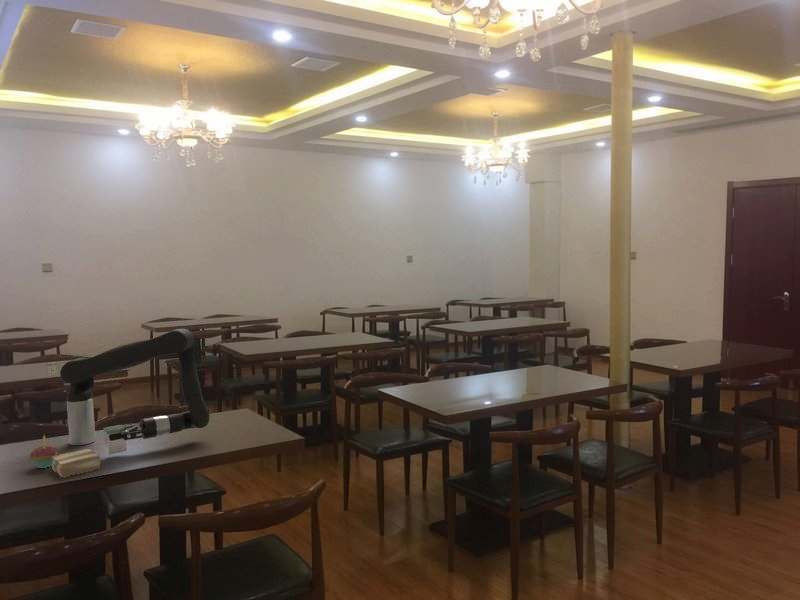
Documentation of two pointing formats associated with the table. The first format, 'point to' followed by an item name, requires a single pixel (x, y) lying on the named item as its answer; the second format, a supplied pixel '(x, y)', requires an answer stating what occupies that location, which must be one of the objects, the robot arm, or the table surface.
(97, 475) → the table surface
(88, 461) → the birch box
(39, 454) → the cupcake
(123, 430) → the tea tin
